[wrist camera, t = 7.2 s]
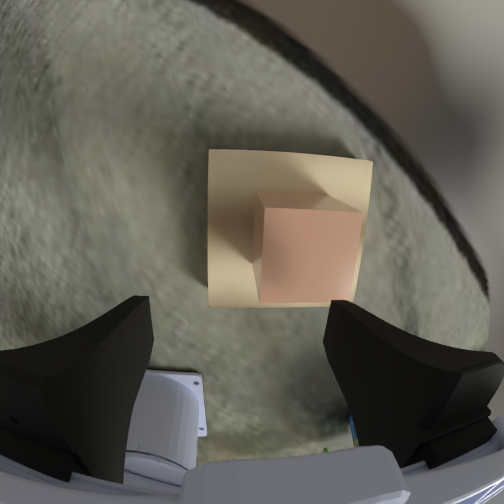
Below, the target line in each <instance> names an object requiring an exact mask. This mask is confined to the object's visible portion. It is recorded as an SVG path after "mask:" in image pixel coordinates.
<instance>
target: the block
mask: <svg viewBox="0 0 504 504" xmlns="http://www.w3.org/2000/svg"><path fill="white" fill-rule="evenodd" d="M362 217H363V212H361V211H359V210H357V209H355V208H353V207H351V206H349V205H348V204H346V203H344V202H342V201H340V200H338V199H336V198H334V197H332V196H330V195H319V194H302V193H283V192H258V191H255V207H254V229H253V252H252V267H253V272H254V277H255V283H256V288H257V293H258V298H259V303H312V302H331V300H347V301H349V298H350V293H351V287H352V282H353V276H354V271H355V265H356V259H357V252H358V246H359V239H360V232H361V225H362Z"/></svg>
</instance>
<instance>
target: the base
mask: <svg viewBox="0 0 504 504" xmlns="http://www.w3.org/2000/svg"><path fill="white" fill-rule="evenodd" d="M372 166H373V161H367V160H360V159H352V158H344V157H335V156H326V155H315V154H304V153H291V152H276V151H258V150H227V149H209V163H208V303H209V307H240V308H270V307H323V306H330V304H331V302H312V303H259V298H258V293H257V288H256V283H255V277H254V272H253V267H252V252H253V229H254V207H255V191H258V192H283V193H302V194H319V195H330V196H332V197H334V198H336V199H338V200H340V201H342V202H344V203H346V204H348V205H349V206H351V207H353V208H355V209H357V210H359V211H361V212H363V217H362V225H361V232H360V239H359V246H358V252H357V259H356V265H355V271H354V276H353V282H352V287H351V293H350V298H349V301H350V302H352V303H353V299H354V294H355V289H356V284H357V279H358V273H359V267H360V262H361V256H362V249H363V243H364V236H365V229H366V222H367V214H368V206H369V197H370V188H371V177H372Z"/></svg>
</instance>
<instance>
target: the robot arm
mask: <svg viewBox="0 0 504 504" xmlns="http://www.w3.org/2000/svg"><path fill="white" fill-rule="evenodd" d="M153 341H154V337H153V329H152V321H151V312H150V303H149V296H135V295H134V296H132V297H130V298H128V299H127V300H125V301H124V302H122V303H121V304H119V305H117V306H116V307H114V308H113V309H111V310H110V311H108V312H107V313H105V314H103V315H102V316H100V317H98V318H97V319H95V320H93V321H91V322H90V323H88V324H86V325H85V326H83V327H81V328H79V329H77V330H74V331H72V332H70V333H68V334H65V335H63V336H60V337H58V338H55V339H52V340H49V341H46V342H43V343H40V344H36V345H32V346H27V347H23V348H17V349H11V350H2V351H0V504H483V503H485V502H486V501H488V500H489V499H491V498H492V497H493V496H495V495H496V494H498V493H499V492H500V491H501V490H503V489H504V413H503V414H502V415H500V416H498V417H497V418H496V419H494V420H493V421H492V422H491V421H490V419H489V418H488V416H490V414H491V410H490V409H489V408H488V407H487V405H488V404H489V402H490V400H491V399H492V397H493V396H494V394H495V392H496V391H497V389H498V387H499V386H500V384H501V382H502V380H503V377H504V362H503V361H502V360H501V359H500V358H499V357H498V356H497V355H496V354H494V353H493V352H483V351H472V350H465V349H459V348H454V347H450V346H445V345H442V344H438V343H435V342H431V341H428V340H425V339H422V338H420V337H417V336H415V335H412V334H410V333H408V332H405V331H403V330H401V329H399V328H397V327H395V326H393V325H391V324H389V323H387V322H385V321H384V320H382V319H380V318H378V317H376V316H375V315H373V314H371V313H370V312H368V311H366V310H364V309H363V308H361V307H359V306H357V305H356V304H354V303H352V302H350V301H347V300H331V304H330V309H329V315H328V320H327V325H326V329H325V334H324V339H323V344H324V347H325V351H326V355H327V358H328V361H329V364H330V366H331V368H332V371H333V373H334V375H335V377H336V379H337V382H338V384H339V386H340V388H341V390H342V393H343V395H344V397H345V399H346V402H347V404H348V407H349V410H350V413H351V416H352V420H353V423H354V427H355V431H356V435H357V439H358V443H359V447H353V448H348V449H342V450H336V451H330V452H324V453H316V454H308V455H299V456H289V457H276V458H258V459H231V460H223V461H212V462H207V463H205V464H202V465H200V466H198V467H196V453H197V438H198V436H206V435H207V426H206V417H205V407H204V396H203V385H202V376H201V375H200V374H199V373H190V372H171V371H157V370H146V369H147V366H148V363H149V360H150V356H151V352H152V347H153ZM195 381H197V382H195Z"/></svg>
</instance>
